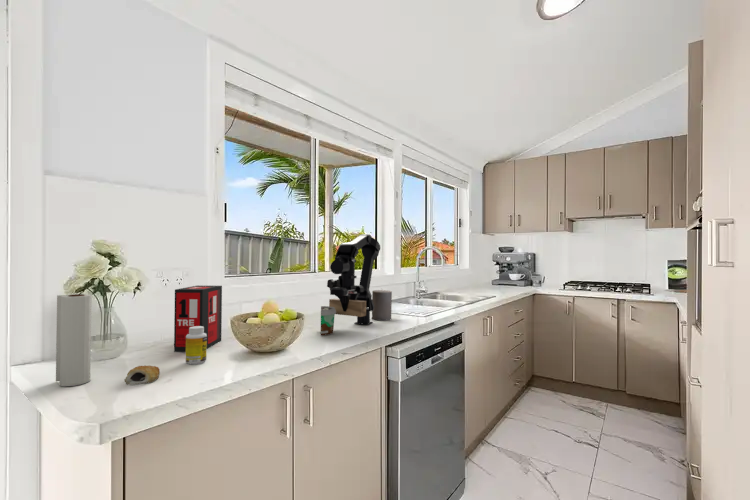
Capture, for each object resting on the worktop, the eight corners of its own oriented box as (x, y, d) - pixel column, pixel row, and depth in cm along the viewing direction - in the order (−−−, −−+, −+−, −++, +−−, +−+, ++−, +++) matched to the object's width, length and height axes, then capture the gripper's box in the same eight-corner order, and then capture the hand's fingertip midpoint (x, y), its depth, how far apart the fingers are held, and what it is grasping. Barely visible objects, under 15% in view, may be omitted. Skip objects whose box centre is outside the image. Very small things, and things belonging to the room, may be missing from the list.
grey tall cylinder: (93, 382, 97) (94, 294, 97) (62, 389, 93) (63, 296, 93) (85, 376, 102) (86, 292, 102) (55, 382, 97) (57, 294, 98)
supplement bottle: (204, 364, 114) (205, 328, 114) (183, 365, 112) (184, 329, 113) (207, 359, 119) (208, 325, 119) (187, 360, 118) (188, 325, 118)
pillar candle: (367, 318, 195) (368, 288, 195) (380, 316, 203) (380, 287, 203) (383, 321, 189) (383, 289, 189) (395, 318, 197) (396, 288, 197)
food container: (336, 335, 155) (336, 310, 155) (320, 336, 154) (320, 310, 154) (335, 329, 167) (335, 305, 167) (320, 330, 166) (321, 306, 166)
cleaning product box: (196, 340, 144) (197, 285, 145) (221, 340, 144) (221, 285, 145) (174, 352, 128) (174, 289, 128) (201, 352, 128) (202, 289, 128)
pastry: (138, 374, 105) (139, 360, 105) (166, 373, 106) (166, 359, 106) (122, 386, 95) (122, 370, 96) (152, 385, 97) (153, 369, 97)
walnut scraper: (334, 312, 172) (335, 298, 172) (366, 315, 164) (366, 301, 164) (329, 313, 169) (329, 299, 169) (360, 316, 161) (360, 301, 161)
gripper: (342, 272, 179) (341, 307, 178) (319, 273, 162) (318, 312, 162) (364, 272, 174) (364, 308, 174) (343, 274, 157) (342, 314, 157)
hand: (347, 310), depth 167 cm, fingers closed on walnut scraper, 4 cm apart
